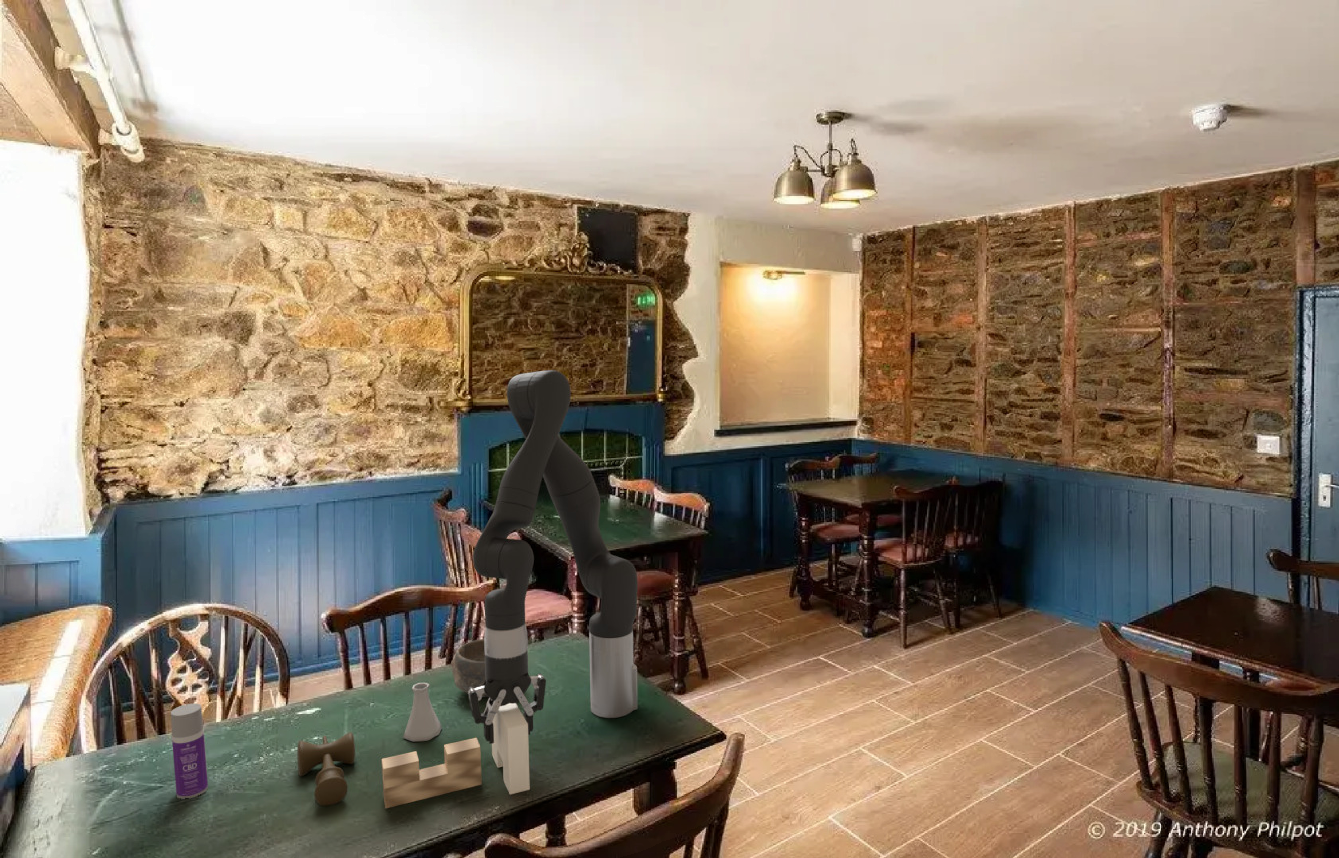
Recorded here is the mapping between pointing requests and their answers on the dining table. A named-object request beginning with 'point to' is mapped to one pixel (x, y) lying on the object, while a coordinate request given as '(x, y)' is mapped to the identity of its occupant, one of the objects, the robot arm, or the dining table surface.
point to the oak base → (431, 774)
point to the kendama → (327, 766)
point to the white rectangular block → (511, 747)
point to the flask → (422, 716)
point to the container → (189, 751)
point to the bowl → (469, 666)
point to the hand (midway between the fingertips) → (508, 737)
